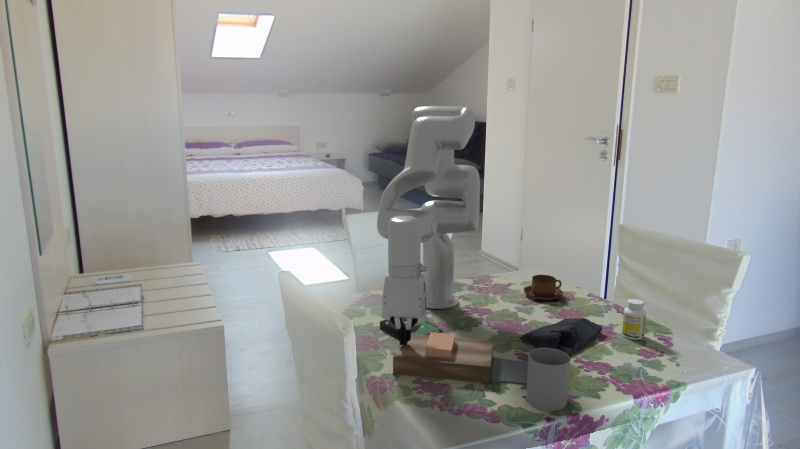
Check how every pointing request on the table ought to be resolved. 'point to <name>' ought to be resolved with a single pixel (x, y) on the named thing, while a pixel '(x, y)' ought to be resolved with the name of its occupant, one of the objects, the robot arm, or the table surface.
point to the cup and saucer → (544, 288)
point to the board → (446, 360)
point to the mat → (509, 371)
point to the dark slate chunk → (563, 335)
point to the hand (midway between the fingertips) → (404, 342)
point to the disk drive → (418, 328)
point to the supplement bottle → (634, 320)
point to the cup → (547, 379)
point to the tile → (440, 345)
